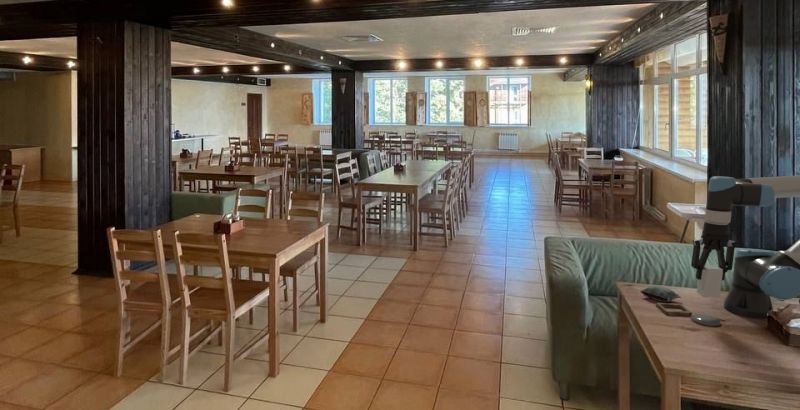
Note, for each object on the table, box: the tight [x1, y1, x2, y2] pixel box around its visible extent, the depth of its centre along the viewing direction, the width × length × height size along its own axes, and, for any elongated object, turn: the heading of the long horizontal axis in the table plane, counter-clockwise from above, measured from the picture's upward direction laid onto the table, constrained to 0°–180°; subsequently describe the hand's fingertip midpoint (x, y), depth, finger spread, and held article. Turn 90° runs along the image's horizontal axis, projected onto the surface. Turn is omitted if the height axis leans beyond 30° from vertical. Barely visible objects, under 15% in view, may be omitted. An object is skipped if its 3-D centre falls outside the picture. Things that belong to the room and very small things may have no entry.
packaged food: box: [640, 284, 682, 303], centre depth 206 cm, size 9×12×5 cm
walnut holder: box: [655, 302, 693, 317], centre depth 194 cm, size 9×9×1 cm
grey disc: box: [690, 313, 721, 327], centre depth 185 cm, size 9×9×1 cm
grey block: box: [696, 264, 723, 299], centre depth 182 cm, size 5×5×10 cm
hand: (708, 288), depth 183 cm, fingers closed on grey block, 5 cm apart
